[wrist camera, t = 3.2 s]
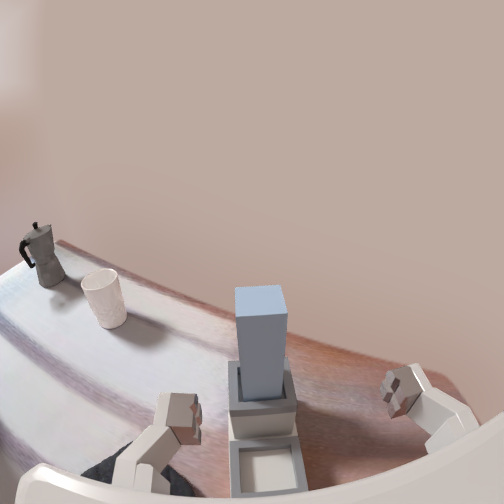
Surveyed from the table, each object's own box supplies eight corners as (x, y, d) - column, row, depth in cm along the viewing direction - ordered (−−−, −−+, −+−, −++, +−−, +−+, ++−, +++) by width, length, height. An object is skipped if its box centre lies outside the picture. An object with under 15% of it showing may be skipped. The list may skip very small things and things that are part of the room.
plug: (280, 402, 27) (287, 313, 21) (243, 405, 27) (235, 316, 21) (275, 371, 31) (279, 281, 25) (242, 373, 31) (234, 283, 25)
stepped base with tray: (305, 499, 22) (321, 480, 17) (232, 506, 21) (222, 489, 17) (287, 397, 36) (292, 353, 32) (229, 401, 36) (222, 358, 31)
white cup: (135, 308, 56) (123, 268, 51) (122, 332, 49) (106, 290, 44) (105, 306, 56) (92, 268, 51) (90, 329, 49) (74, 289, 44)
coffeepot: (53, 268, 72) (37, 215, 64) (74, 268, 72) (58, 212, 64) (27, 295, 58) (5, 236, 50) (47, 297, 58) (25, 234, 50)
